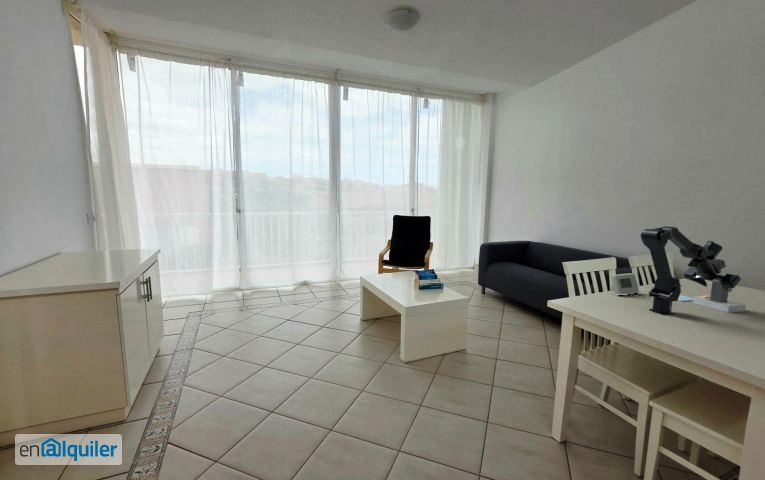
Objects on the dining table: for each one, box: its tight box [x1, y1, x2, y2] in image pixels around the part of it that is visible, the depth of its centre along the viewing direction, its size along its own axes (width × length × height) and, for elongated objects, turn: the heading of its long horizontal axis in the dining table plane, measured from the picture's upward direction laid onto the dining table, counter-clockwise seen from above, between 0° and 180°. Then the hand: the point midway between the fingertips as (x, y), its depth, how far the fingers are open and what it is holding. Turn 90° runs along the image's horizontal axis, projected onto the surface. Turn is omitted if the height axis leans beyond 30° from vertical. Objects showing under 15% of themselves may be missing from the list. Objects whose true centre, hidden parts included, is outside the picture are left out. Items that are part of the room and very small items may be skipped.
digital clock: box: [610, 272, 640, 295], centre depth 171 cm, size 16×9×11 cm, turn 97°
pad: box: [662, 294, 693, 303], centre depth 164 cm, size 10×10×1 cm
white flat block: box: [691, 294, 747, 313], centre depth 151 cm, size 10×14×4 cm
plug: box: [710, 280, 729, 303], centre depth 150 cm, size 4×4×14 cm
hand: (718, 288), depth 150 cm, fingers open, 9 cm apart
